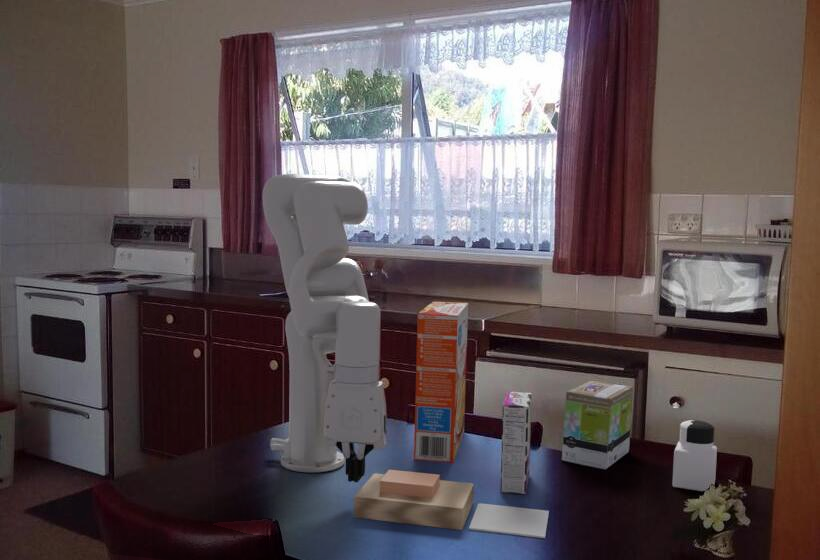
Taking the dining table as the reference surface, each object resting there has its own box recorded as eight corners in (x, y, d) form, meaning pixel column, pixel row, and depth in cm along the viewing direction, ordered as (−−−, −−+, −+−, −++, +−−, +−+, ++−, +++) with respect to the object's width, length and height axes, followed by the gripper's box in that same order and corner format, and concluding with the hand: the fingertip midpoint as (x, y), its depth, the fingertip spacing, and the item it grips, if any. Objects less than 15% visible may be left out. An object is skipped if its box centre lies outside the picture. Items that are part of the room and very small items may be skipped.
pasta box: (453, 462, 157) (457, 315, 155) (413, 459, 158) (417, 313, 156) (464, 431, 180) (468, 303, 177) (429, 429, 181) (433, 301, 178)
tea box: (608, 471, 155) (612, 398, 153) (560, 461, 160) (563, 390, 159) (630, 452, 167) (633, 384, 166) (585, 444, 173) (588, 378, 171)
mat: (468, 529, 124) (468, 527, 124) (478, 504, 135) (478, 503, 134) (545, 538, 121) (545, 536, 121) (548, 512, 132) (548, 510, 132)
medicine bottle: (715, 482, 150) (718, 420, 149) (712, 493, 143) (716, 429, 142) (676, 475, 153) (679, 415, 152) (672, 487, 146) (675, 424, 145)
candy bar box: (503, 473, 151) (506, 390, 150) (529, 475, 151) (532, 392, 149) (498, 493, 141) (501, 404, 139) (526, 495, 140) (530, 406, 138)
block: (379, 492, 129) (379, 480, 129) (388, 480, 135) (389, 469, 135) (432, 498, 127) (432, 486, 127) (439, 486, 133) (439, 474, 133)
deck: (353, 517, 128) (354, 496, 127) (373, 492, 139) (374, 473, 139) (462, 529, 124) (462, 508, 123) (473, 503, 135) (473, 483, 135)
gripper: (307, 375, 130) (306, 482, 132) (394, 381, 127) (391, 491, 128) (322, 367, 137) (321, 468, 139) (405, 372, 134) (402, 476, 135)
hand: (355, 479), depth 133 cm, fingers closed
